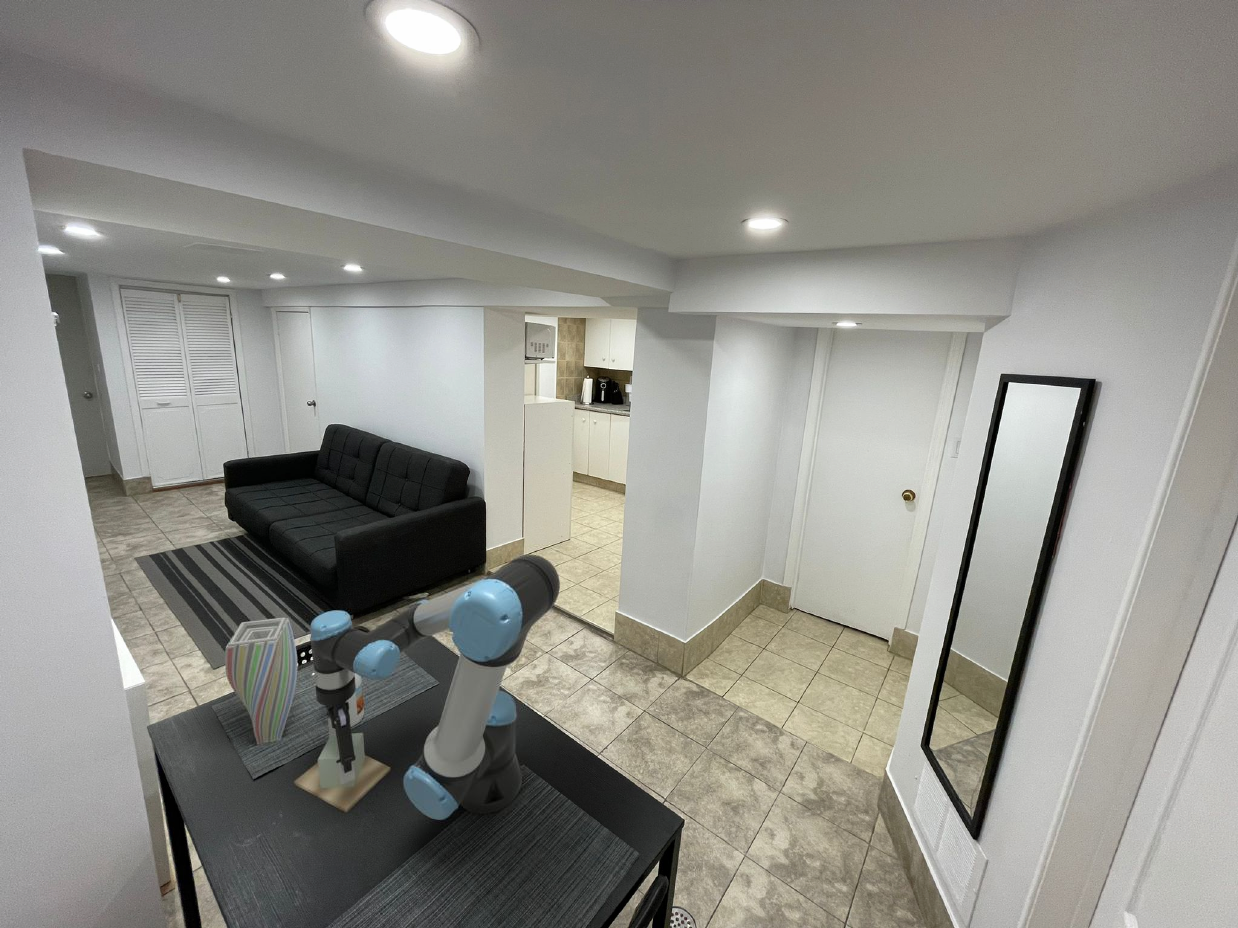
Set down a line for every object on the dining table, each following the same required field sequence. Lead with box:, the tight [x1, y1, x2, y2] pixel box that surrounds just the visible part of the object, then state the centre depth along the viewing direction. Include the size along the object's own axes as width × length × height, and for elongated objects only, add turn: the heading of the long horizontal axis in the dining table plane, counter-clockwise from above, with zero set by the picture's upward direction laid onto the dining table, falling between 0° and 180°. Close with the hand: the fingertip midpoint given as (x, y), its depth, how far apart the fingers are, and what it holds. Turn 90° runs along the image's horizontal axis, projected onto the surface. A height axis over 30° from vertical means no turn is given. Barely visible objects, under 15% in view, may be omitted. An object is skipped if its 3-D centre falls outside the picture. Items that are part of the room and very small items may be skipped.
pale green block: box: [317, 732, 366, 788], centre depth 114 cm, size 7×7×8 cm
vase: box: [224, 617, 298, 745], centre depth 121 cm, size 14×14×30 cm
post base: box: [293, 754, 391, 814], centre depth 114 cm, size 16×12×6 cm
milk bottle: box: [346, 673, 365, 728], centre depth 129 cm, size 8×8×20 cm
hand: (342, 758), depth 114 cm, fingers open, 13 cm apart
